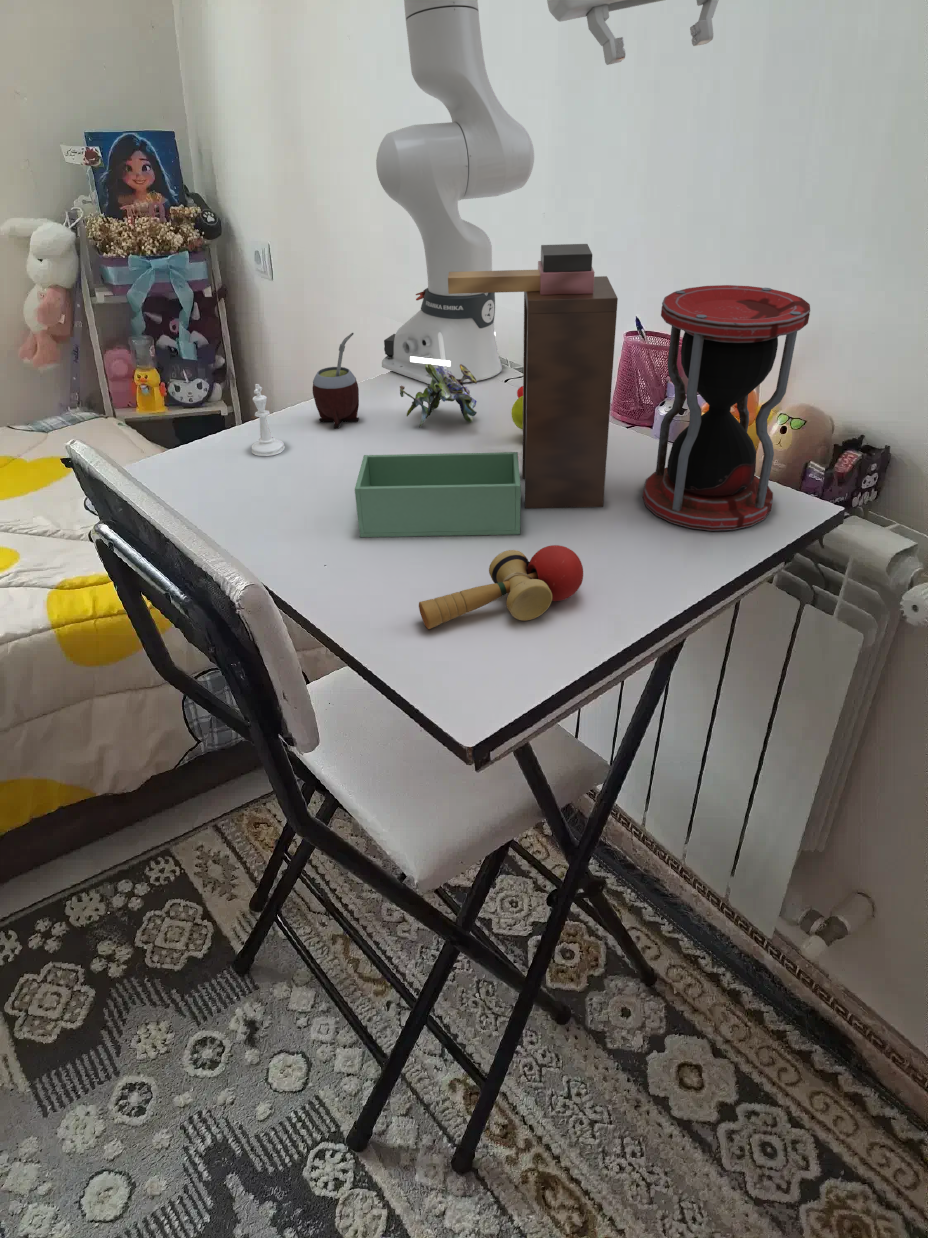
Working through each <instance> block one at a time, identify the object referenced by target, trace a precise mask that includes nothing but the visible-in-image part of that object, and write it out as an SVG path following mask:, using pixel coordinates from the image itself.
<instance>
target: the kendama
mask: <svg viewBox="0 0 928 1238" xmlns="http://www.w3.org/2000/svg"><path fill="white" fill-rule="evenodd" d="M488 574H489V576H490V579H491V581H492V582H493V583H490V584H484V585H479V586H475V587H471V588H468V589H464V590H463V589H462V590H460V591H456V592H452V593H450V594H445V595H442V596H439V597H438V596H437V597H435V598H430V599H425V600H422V601H418V610H419V614H420V617H421V620H422V622H423V625H424V626H425V628H426V629H427V630H431V629H434V628H436V627H438V626H440V625H442V624H444V623H446V622H449V621H451V620H454V619H456V618H458V617H461V616H463V615H466V614H468V613H471V612H473V611H475V610H478V609H480V608H482V607H484V606H486V605H488V604H490V603H492V602H495V601H496V600H498V599H500V598H502V597H504V596H506V595H507V596H506V597H507V598H506V608H507V610H508V612H509V613H510V615H511V616H512V617H513V619H516V620H518V621H531V620H534V619H536V618H539V617H540V616H542V615H543V614H544V613H546V611H547V610H548V609H549V608H550V606H551V605H552V602H560V601H564V600H567V599H569V598H571V597H572V596H573V595H575V594H576V593H577V592H578V590H580V588H581V586H582V583H583V579H584V568H583V564H582V561H581V559H580V557H579V556H578V555H577V553H576V552H574V551H573V550H572V549H571V548H569V547H566V546H563V545H559V544H552V545H551V544H550V545H547V546H544V547H542V548H541V549H539V550H537V552H535V553H534V554H533V555H532V557H531V559H530V560H529V559H528V557H527V556H526V555H525V554H524V553H523V552H522V551H520V550H516V549H508V550H505V551H502V552H501V553H498V554H497V555H496V556H495V557H494V558H493V559H492V561H491V562H490V564H489V567H488Z"/></svg>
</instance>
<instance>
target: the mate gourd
mask: <svg viewBox="0 0 928 1238" xmlns="http://www.w3.org/2000/svg"><path fill="white" fill-rule="evenodd" d="M354 334H355V333H354V332H351V333H350V334H349V335H347V336H346V337H345V338H344V339H343V340H342V342H341V343H340V344H339V347H338V351H339V352H338V358H337V365H336V366H329V367H324V368H321V369H320V370H318V371H317V372H316V374H315V376H314V377H313V379H312V395H313V400H314V404H315V407H316V409H317V412H318V414H319V419H318V420H319V423H333V430H338V429H340V427H341V425H342V423H359V420H360V418H359V417H358V412H359V407H360V394H359V393H360V389H359V384H358V381H357V378H356V376H355V375H354V373H353V372H352V371H351V369H349V368H347V367H344V366H342V364H343V363H342V362H343V356H344V355H343V354H344V352H345V349H346V344H347V342H348V341H349V340H350V339H351V338H352V337H353V336H354Z"/></svg>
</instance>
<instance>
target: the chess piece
mask: <svg viewBox="0 0 928 1238" xmlns="http://www.w3.org/2000/svg"><path fill="white" fill-rule="evenodd" d="M254 386H255V389H254V390H253V394H256V395H255V396H253V397H252V402H253V404H254V405H255V408H256V409H257V411H255V412H254V417H257V418H259V432H260V434H259V435H260V437H259V439H258V440H257V441H255V442H254V443H253V444H252V445H251V453H252V455H255V456H257V457H271V456H276V455H279V454H281V453H282V452H284V451H285V449H286V447H285V443H284V441H282V440H281V439H279V438H275V437H274V436H272V431H271V429H270V426H269V422H268V418H267V417H269V416H270V414H271V413H270V410H267V409H266V406H267V400H268V397H267V396H266V395H264V394H262V393H261V392H262V391H263V386H260V383H255V384H254Z"/></svg>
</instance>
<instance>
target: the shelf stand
mask: <svg viewBox="0 0 928 1238" xmlns="http://www.w3.org/2000/svg"><path fill="white" fill-rule="evenodd" d="M618 301H619V298H618V295H617V294H616V292H615V290H614V288H613V286H612V284H611V281H610V280H609V278H608V276H607V275H603V276H602V275H601V276H599V275H598V276H594V291H593V294H562V295H540V291H537V292H523V356H522V359H523V361H522V362H523V364H522V367H523V368H522V369H523V370H522V373H523V374H522V386H523V430H522V448H521V449H522V450H521V451H522V452H521V453H522V456H521V457H522V459H521V460H522V463H521V465H522V466H521V467H522V468H521V476H522V479H524V509H559V508H562V509H563V508H565V509H566V508H603V507H604V501H605V499H604V498H605V485H606V484H605V483H606V472H607V471H606V469H607V457H608V443H609V442H608V441H609V429H610V428H609V427H610V415H611V414H610V412H611V400H612V388H613V387H612V386H613V371H614V357H615V355H614V354H615V343H616V331H617V329H616V328H617V314H618Z"/></svg>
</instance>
